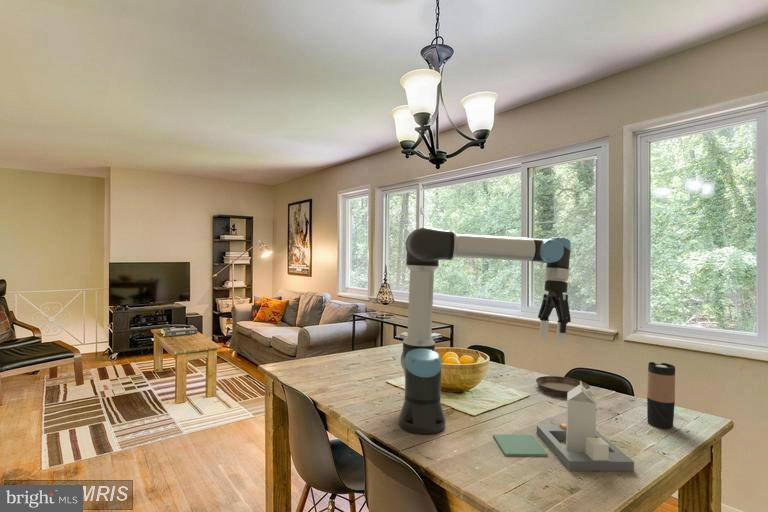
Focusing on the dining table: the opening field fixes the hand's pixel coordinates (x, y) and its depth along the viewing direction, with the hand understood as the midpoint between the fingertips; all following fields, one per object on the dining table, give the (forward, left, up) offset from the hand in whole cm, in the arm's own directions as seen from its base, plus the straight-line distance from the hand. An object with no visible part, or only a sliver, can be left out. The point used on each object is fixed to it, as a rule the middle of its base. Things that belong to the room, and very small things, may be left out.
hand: (551, 340), depth 145 cm
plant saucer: (+16, +24, -26) cm, 39 cm away
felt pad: (-19, -25, -26) cm, 41 cm away
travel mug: (+34, -9, -26) cm, 43 cm away
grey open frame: (-2, -27, -26) cm, 37 cm away
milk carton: (-2, -27, -26) cm, 37 cm away
